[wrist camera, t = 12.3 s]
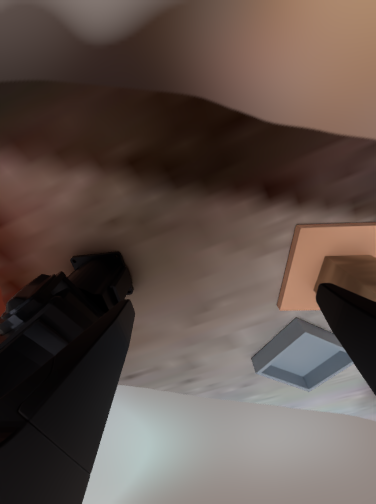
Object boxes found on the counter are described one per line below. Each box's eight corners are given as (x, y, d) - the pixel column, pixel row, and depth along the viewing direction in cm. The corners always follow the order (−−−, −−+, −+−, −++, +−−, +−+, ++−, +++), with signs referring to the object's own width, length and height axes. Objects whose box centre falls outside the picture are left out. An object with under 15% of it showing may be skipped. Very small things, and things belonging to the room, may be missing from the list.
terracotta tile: (277, 305, 26) (280, 310, 25) (296, 224, 20) (300, 227, 19) (364, 304, 25) (370, 309, 24) (408, 221, 20) (419, 224, 19)
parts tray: (251, 358, 32) (255, 373, 29) (296, 317, 27) (305, 332, 25) (301, 376, 34) (309, 391, 31) (351, 341, 29) (364, 356, 27)
